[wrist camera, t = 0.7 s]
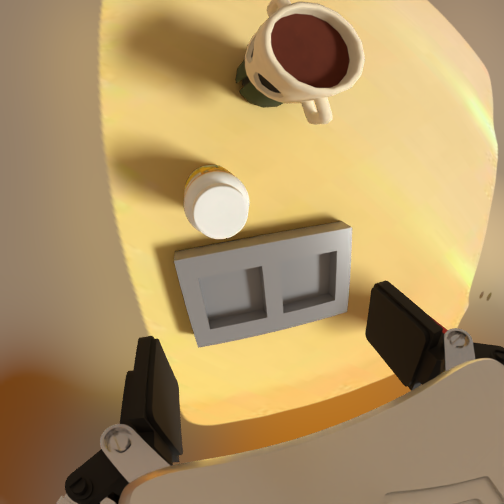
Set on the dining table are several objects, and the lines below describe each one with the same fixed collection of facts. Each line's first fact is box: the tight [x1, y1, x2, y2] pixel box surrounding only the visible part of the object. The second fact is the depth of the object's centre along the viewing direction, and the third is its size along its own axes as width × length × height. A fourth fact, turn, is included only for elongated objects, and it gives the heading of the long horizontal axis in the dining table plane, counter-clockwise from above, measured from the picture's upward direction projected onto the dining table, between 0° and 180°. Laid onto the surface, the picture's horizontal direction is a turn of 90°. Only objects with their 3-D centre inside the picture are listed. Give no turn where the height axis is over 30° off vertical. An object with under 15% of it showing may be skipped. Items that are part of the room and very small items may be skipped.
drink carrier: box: [174, 221, 352, 348], centre depth 33 cm, size 12×20×2 cm, turn 97°
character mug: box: [236, 0, 365, 124], centre depth 19 cm, size 11×7×13 cm, turn 19°
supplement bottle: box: [184, 165, 249, 239], centre depth 24 cm, size 5×5×10 cm
